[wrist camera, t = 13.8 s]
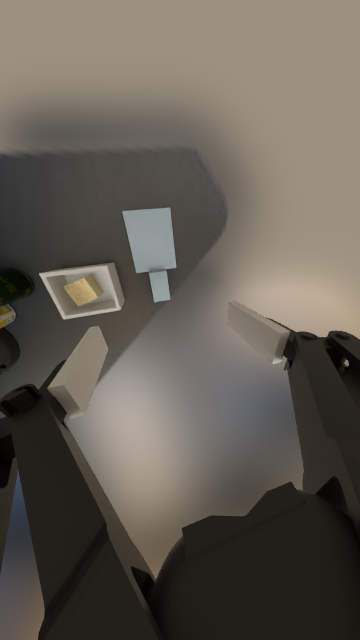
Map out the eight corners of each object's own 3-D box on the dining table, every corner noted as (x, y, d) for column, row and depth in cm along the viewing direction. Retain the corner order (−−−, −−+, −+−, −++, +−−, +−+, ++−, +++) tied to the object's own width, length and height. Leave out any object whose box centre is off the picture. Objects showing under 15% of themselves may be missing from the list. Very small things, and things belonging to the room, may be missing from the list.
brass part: (86, 299, 30) (78, 306, 27) (72, 282, 28) (62, 286, 25) (103, 292, 30) (98, 297, 27) (91, 274, 28) (84, 277, 25)
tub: (77, 307, 31) (63, 319, 26) (59, 269, 27) (39, 273, 22) (124, 300, 32) (120, 309, 27) (114, 262, 29) (106, 265, 24)
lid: (122, 212, 26) (119, 207, 23) (169, 208, 27) (172, 203, 24) (142, 299, 34) (142, 304, 30) (178, 293, 35) (181, 297, 32)
